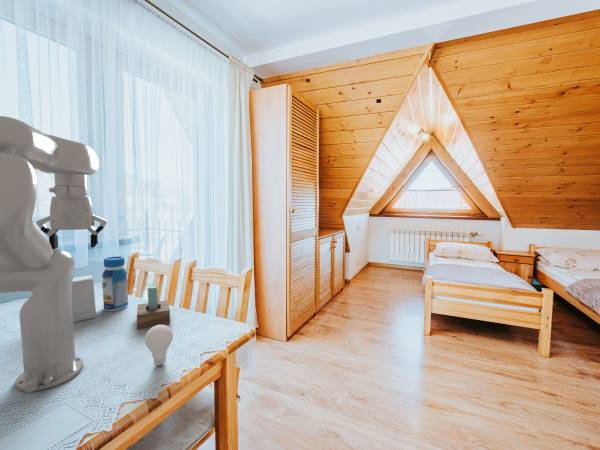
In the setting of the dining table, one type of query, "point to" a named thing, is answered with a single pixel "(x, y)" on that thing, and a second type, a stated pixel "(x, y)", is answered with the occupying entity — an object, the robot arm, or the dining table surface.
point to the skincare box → (83, 298)
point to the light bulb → (159, 342)
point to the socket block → (153, 315)
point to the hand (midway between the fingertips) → (74, 247)
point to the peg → (152, 298)
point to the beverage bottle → (114, 284)
